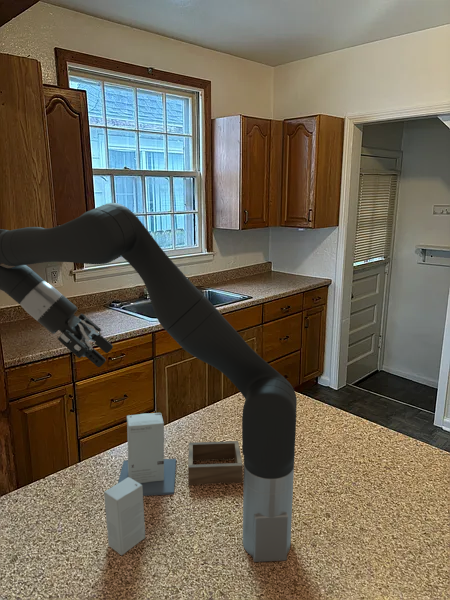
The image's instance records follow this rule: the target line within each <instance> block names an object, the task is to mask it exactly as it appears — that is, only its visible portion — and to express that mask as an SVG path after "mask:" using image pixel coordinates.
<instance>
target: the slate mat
mask: <svg viewBox="0 0 450 600" xmlns="http://www.w3.org/2000/svg"><path fill="white" fill-rule="evenodd" d="M176 469H177V458H164V480H163V481H154V482H147V483H141V485H142V488H143V497H145V496H147V497H148V496H166V495H168V496H169V495H175V483H176ZM128 477H129V475H128V459H125V460H123V463H122V466H121V471H120V474H119V478H118V482H117V484H118V483H120V482H121V481H123V480H124V479H126V478H128Z"/></svg>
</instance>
